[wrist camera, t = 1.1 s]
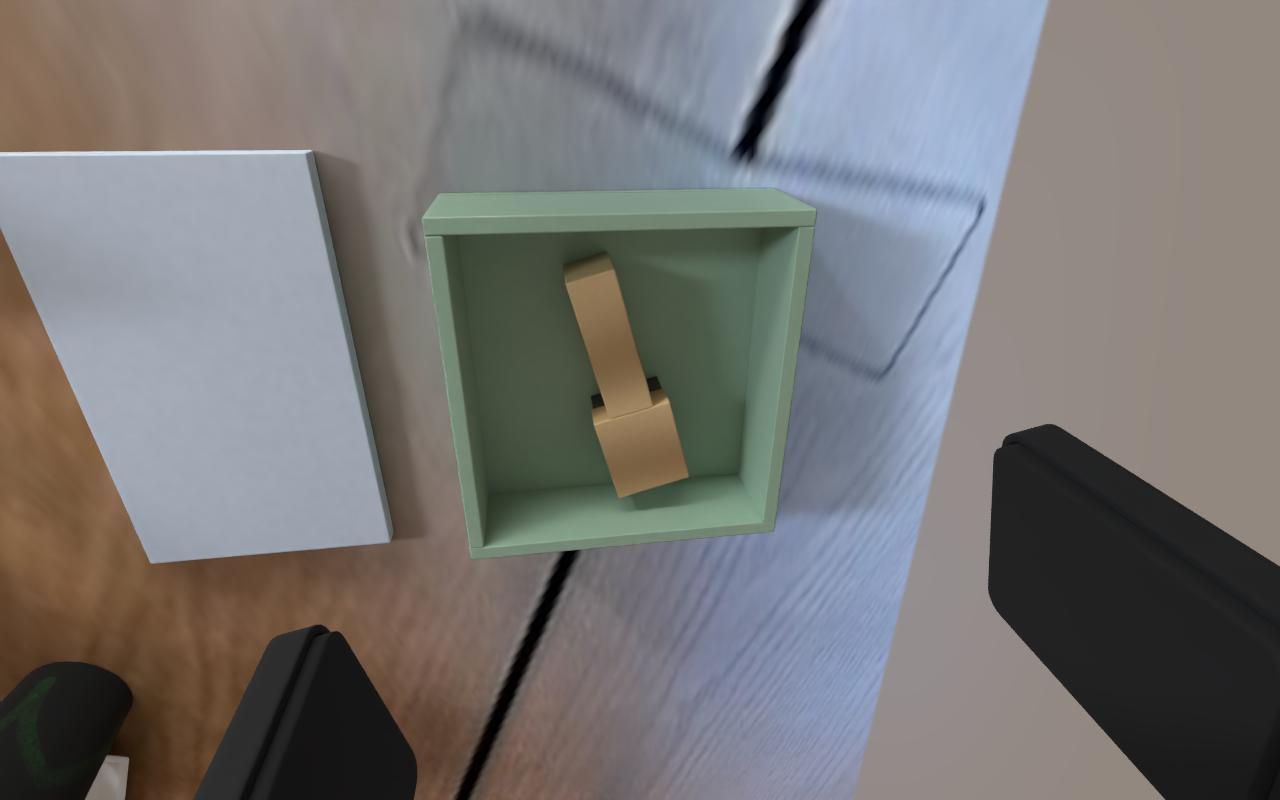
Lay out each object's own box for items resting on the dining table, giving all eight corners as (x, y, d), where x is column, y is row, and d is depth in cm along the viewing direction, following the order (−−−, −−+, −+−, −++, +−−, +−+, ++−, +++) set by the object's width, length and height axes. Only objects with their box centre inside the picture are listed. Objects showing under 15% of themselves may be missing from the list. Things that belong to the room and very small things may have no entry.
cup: (182, 698, 39) (54, 931, 29) (89, 754, 40) (-68, 1000, 29) (65, 628, 35) (-131, 865, 25) (-34, 691, 36) (-263, 945, 26)
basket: (438, 193, 28) (421, 217, 24) (775, 187, 30) (818, 209, 26) (478, 498, 36) (471, 560, 31) (745, 476, 38) (774, 532, 33)
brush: (545, 269, 30) (546, 288, 27) (623, 245, 30) (632, 263, 27) (612, 466, 35) (618, 498, 33) (678, 446, 35) (690, 477, 33)
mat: (-14, 152, 25) (-34, 155, 24) (313, 149, 27) (305, 152, 26) (160, 551, 34) (150, 564, 33) (394, 531, 36) (390, 543, 35)
